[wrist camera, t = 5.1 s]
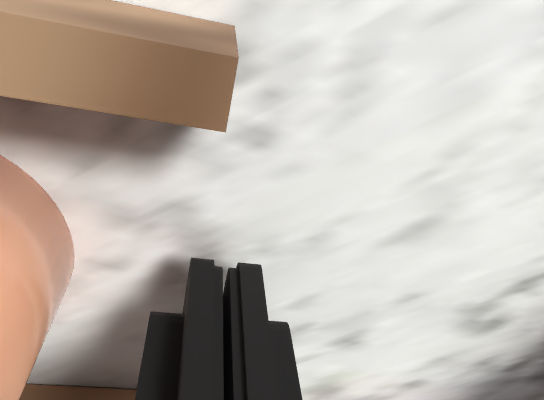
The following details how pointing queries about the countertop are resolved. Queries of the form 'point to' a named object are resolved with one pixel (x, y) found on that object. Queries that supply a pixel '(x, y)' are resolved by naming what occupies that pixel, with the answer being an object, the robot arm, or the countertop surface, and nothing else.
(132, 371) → the countertop surface
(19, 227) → the short salmon cylinder
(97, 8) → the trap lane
